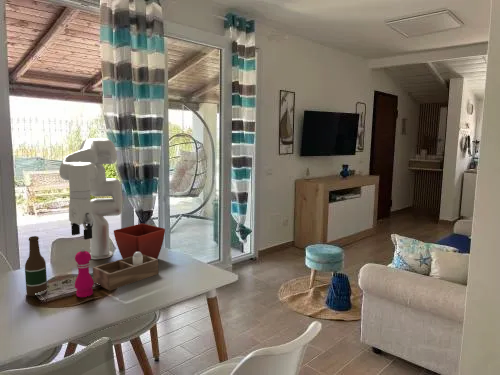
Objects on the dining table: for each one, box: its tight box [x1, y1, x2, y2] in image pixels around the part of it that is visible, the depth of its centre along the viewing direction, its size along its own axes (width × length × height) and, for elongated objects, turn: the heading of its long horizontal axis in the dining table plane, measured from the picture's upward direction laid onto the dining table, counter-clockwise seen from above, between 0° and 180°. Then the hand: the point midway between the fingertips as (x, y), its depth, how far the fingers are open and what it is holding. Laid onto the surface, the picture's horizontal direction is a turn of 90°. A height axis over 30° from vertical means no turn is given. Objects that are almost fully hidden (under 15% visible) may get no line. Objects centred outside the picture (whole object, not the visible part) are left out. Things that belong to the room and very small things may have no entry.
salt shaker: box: [133, 252, 143, 266], centre depth 174 cm, size 4×4×11 cm
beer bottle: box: [24, 235, 48, 298], centre depth 153 cm, size 8×8×24 cm
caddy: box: [92, 254, 159, 291], centre depth 170 cm, size 13×25×8 cm, turn 142°
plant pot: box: [113, 223, 166, 259], centre depth 196 cm, size 19×19×17 cm
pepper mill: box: [74, 247, 95, 298], centre depth 153 cm, size 7×7×20 cm
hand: (81, 236), depth 151 cm, fingers open, 9 cm apart
